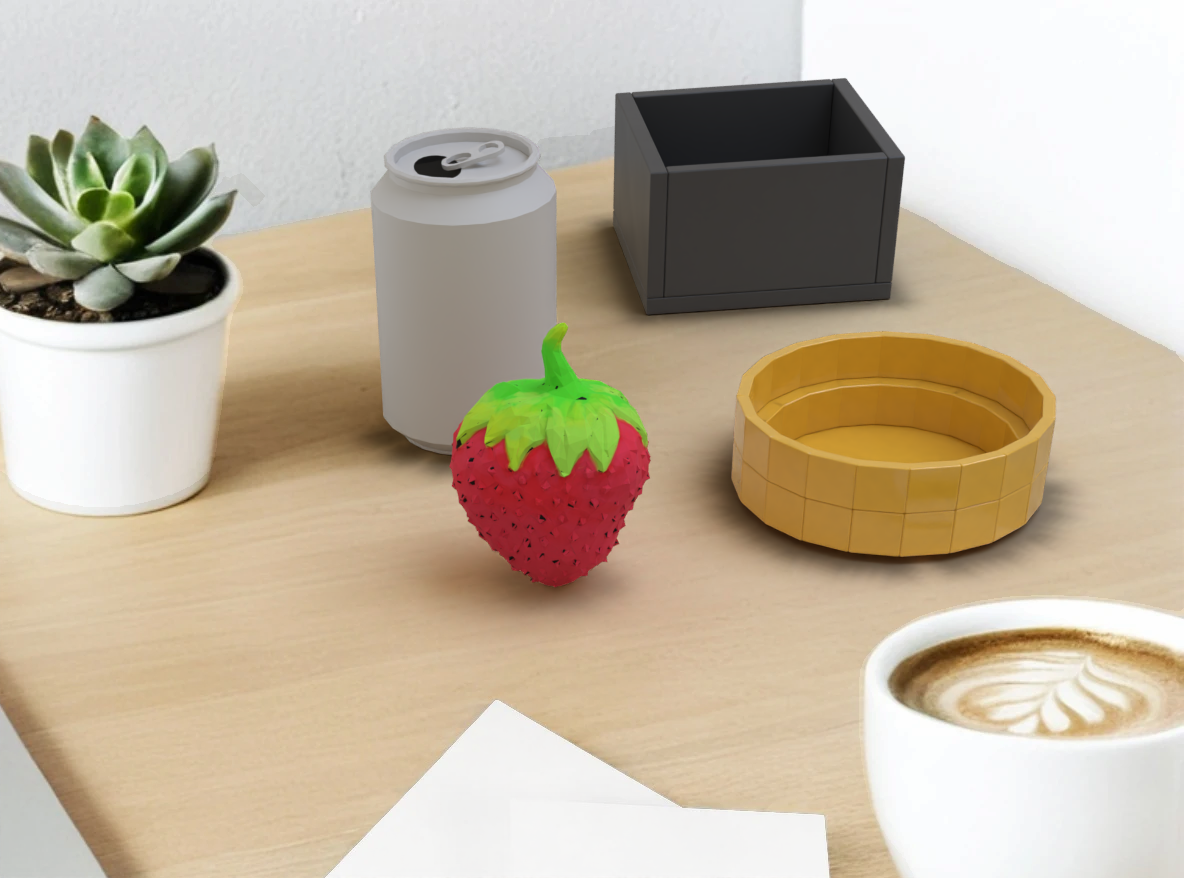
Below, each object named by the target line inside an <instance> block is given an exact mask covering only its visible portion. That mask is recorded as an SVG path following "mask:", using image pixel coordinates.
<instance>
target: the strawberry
mask: <svg viewBox="0 0 1184 878" xmlns="http://www.w3.org/2000/svg"><path fill="white" fill-rule="evenodd" d="M568 329H569V326H568V325H567V323H566V322H560V323H557V325H556V326H554V327H553V328H552V329H550V330H549V332H548V333H547V335H546V336H545V338H544V339H543V344H542V350H541V352H542V358H543V363H544V368H545V377H544V378H541V379H519V380H511V381H508V382H501V383H498V384H496V385H494V386H493V387H492V388H491V389H489V390H488V391H487V392H485V393H484V395H483V396H482V397H481V398H480V399H479V401H478V402H477V403H476V404H475V405H474V406H473V407H472V409H471V410H470V411H469V412H468V413H467V414H466V415H465V417H464V419H463V420H462V422H461V423H460V424H459V426H458V428H457V430H456V431H455V432H454V433H453V443H452V446H453V448H452V455H451V457H450V463H449V467H448V468H449V469H450V470H451V476H452V482H451V487H452V488H453V489H454V490H456V494H457V497H458V504H459V505H460V506H461V507H462V509H463V510H464V511H465V513H466V518H468V519H467V522H468V523H469V524H471V525H472V526H474V527H475V530H476V532H477V533H478V537H479V538H481V539H482V540H483V541H485V542H486V543H487V544H488V545H489V548H491V551H493V552H497V553H499V556H500V557H503V559H505V561H506V562H507V563H508V564H509V566H510V567H511V571H514V572H521V573H522V574H523V576H528V577H530V581H531V583H540V584H542V585H544V586H548V587H554V589H555V588H557V587H563V586H565V585H569V584H571V583H574V582H575V581H577V580H578V579H579V578H581V577H588V575H589V572H590V571H591V570H592V569H594V568H596V567H597V566H599V565H600V564H602V563H608V556H609V555H610V554H611V553H612V550H613V548H614V547H615V546H618V545H620V543H619V540H618V536H619V533H620V531H621V530H622V529H624V528H625V527H626V526H627V525H626V520H625V519H626V517H627V515H628V512H630V511H633V510H634V505H635V503H636V500H637V499H638V497H639V496H641V495H643V487H644V485H645V483H646V482H647V481H648V480H650V479H651V475H650V472H649V471H650V469H649V467H650V463H651V462H652V460H651V458H652V456H651V454H650V452H649V449H648V447H649V444H650V440H648V439H649V438H648V437H649V436H648V432H647V430H646V427H645V426H644V423H643V421H642V419H641V417H640V415H639V413H638V411H637V409H636V408H635V407H634V406H633V405H631V403H630V402H629V399H628V398H627V397H626V396H625V394H623V392H622V391H621V390H619V389H617V388H615V387H613V386H611V385H609V384H606V382H603V381H601V380H596V379H591V378H579V377H578V376H577V374H576V373H575V371H574V369H573V368H572V366H571V365H570V363H569V362H568V360H567V359H566V356H565V354H564V353H563V351H562V341H563V340H564V338H565V336H566V334H567V333H568Z"/></svg>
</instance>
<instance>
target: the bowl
mask: <svg viewBox="0 0 1184 878" xmlns="http://www.w3.org/2000/svg"><path fill="white" fill-rule="evenodd" d="M1056 419H1057V396H1056V394H1055V393H1054V392H1053V390H1052V389H1051V387H1050V386H1049V385H1048V383H1047V382H1046V380H1045V379H1044V378H1043V376H1042V375H1040V374H1039V373H1038V372H1037V371H1035V370H1034V369H1032V368H1031V367H1028V366H1027V365H1025V364H1024V363H1022V362H1021V361H1020V360H1018V359H1016V358H1014V357H1012V356H1011V355H1008V354H1006V353H1003V352H1000V351H998V350H995V349H991V348H989V347H987V346H985V345H984V346H983V345H980V344H978V343H975V342H971V341H967V340H961V339H957V338H951V337H945V336H940V335H937V334H936V335H935V334H928V333H921V332H920V333H919V332H905V331H886V330H878V331H876V330H875V331H861V332H850V333H848V332H847V333H846V332H845V333H836V334H829V335H825V336H820V337H815V338H811V339H806V340H802V341H797V342H795V343H792V344H789V345H787V346H785V347H781V348H780V349H778V350H775V351H773V352H771V353H769V354H767V355H764V356H763V357H761V358H760V359H759V360H757V361H756V362H755V363H754V364H753V365H752V366H751V367H750V368H748V369H747V370H746V372H744V373H743V374H742V375H741V379H740V382H739V386H738V389H737V391H736V395H735V410H734V427H733V444H732V459H731V460H732V461H731V475H730V476H731V477H730V478H731V481H732V484H733V486H734V490H735V491H736V494H737V497H738V499H739V501H740V503H741V504H742V505H743V506H744V507H746V508H747V509H748V510H749V511H750V512H751V513H752V514H754V515H755V516H756V517H757V518H758V519H759V520H760V521H762V522H763V523H764V524H765V525H767V526H769V527H771V528H773V529H774V530H775V529H776V530H778V531H779V532H781V533H784V534H786V535H788V536H790V537H792V538H794V539H796V540H798V541H803V542H806V543H809V544H814V545H818V546H822V547H826V548H830V549H834V550H837V551H841V552H845V553H847V552H849V553H852V554H853V553H854V554H865V555H875V556H876V555H877V556H886V557H887V556H888V557H902V558H903V557H905V558H906V557H916V556H917V557H918V556H919V557H920V556H933V555H949V554H954V553H957V552H961V551H965V550H970V549H973V548H978V547H980V546H985V545H989V544H992V543H993V542H996V541H998V540H1000V539H1002V538H1003V537H1005V536H1007V535H1009V534H1011V533H1013V532H1015V531H1016V530H1018V529H1020V528H1022V527H1024V526H1025V525H1026V524H1027V523H1028V521H1029V520H1030V519H1031V517H1032V516H1033V515H1034V514H1035V513H1036V511H1037V510H1038V509H1039V508H1040V506H1041V505H1042V502H1043V497H1044V492H1045V486H1046V481H1047V473H1048V468H1049V460H1050V454H1051V449H1052V444H1053V438H1054V431H1055V426H1056Z"/></svg>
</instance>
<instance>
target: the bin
mask: <svg viewBox="0 0 1184 878" xmlns="http://www.w3.org/2000/svg"><path fill="white" fill-rule="evenodd" d="M614 97H615V99H614V144H613V145H614V146H613V151H614V152H613V194H612V195H613V198H612V201H613V202H612V205H613V206H612V209H613V211H612V227H613V228H614V232H615V234H616V236H617V239H618V242H619V245H620V246H621V250H622V253H623V256H624V258H625V260H626V264H627V267H628V269H629V272H630V274H631V277H632V279H633V282H634V285H635V288H636V291H637V293H638V295H639V298H640V301H641V303H642V306H643V308H644V311H645V314H646V316H647V315H648V316H649V315H662V314H677V313H692V312H705V311H707V312H708V311H721V310H722V311H723V310H737V309H751V308H753V309H755V308H766V307H767V308H768V307H781V306H782V307H783V306H797V305H811V304H812V305H813V304H825V303H826V304H827V303H841V302H855V301H856V302H857V301H871V300H884V299H891V297H892V286H893V275H894V266H895V257H896V247H897V237H898V236H897V235H898V227H899V218H900V210H901V201H902V191H903V182H904V171H905V164H906V163H905V161H906V156H905V154H903V152H902V151H901V149H900V147H899V146H898V145H897V144H896V143H895V141H894V140H893V139H892V137H891V136H890V135H889V133H888V131H887V130H886V129H885V128H884V126H883V125H882V123H881V122H880V121H879V120H878V119H877V117H876V116H875V115H874V113H873V112H872V110H871V109H870V108H869V106H868V105H867V104H866V103H865V101H864V100H863V99H862V97H861V96H860V95H859V93H858V92H857V90H856V89H855V88H854V86H853V85H852V84H851V83H850V81H849V80H848V78H846V77H841V78H838V77H837V78H832V79H830V78H825V79H822V78H821V79H809V80H795V81H794V80H793V81H792V80H791V81H779V82H777V81H776V82H764V83H763V82H762V83H747V84H733V85H719V86H704V87H703V86H702V87H687V88H673V89H672V88H671V89H658V90H657V89H655V90H642V91H632V92H627V91H626V92H616V93H615V95H614Z"/></svg>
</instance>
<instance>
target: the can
mask: <svg viewBox="0 0 1184 878" xmlns="http://www.w3.org/2000/svg"><path fill="white" fill-rule="evenodd" d="M541 154H542V153H541V151H540V146H539V145H538V144H536V143H535V142H534V141H533V140H531V139H530V138H529V137H527V136H525V135H523V134H519V133H517V132H514V131H510V130H504V129H498V128H493V127H477V126H476V127H475V126H474V127H471V126H468V127H466V126H465V127H450V128H449V127H447V128H442V129H436V130H429V131H425V132H421V133H418V134H414V135H412V136H408V137H405V138H403V139H402V140H400V141H398V142H396V143H395V144H392V145H391V146H390V148H389V149H388V150H387V151H386V152H385V153H384V155H383V163H384V164H383V165H384V168H385V169H386V171H385V172H384V173H383V175H382V176H381V177H380V179H379V180H377V182H376V183H375V185H374V186H373V187H372V188H371V190H370V209H371V222H372V223H371V226H372V227H371V228H372V243H373V244H372V245H373V261H374V277H375V293H376V294H375V296H376V297H375V298H376V311H377V312H376V313H377V315H376V316H377V329H378V332H377V333H378V347H379V349H378V350H379V364H380V382H381V383H380V384H381V398H382V399H381V400H382V415H383V418H384V419H385V421H386V422H387V423H388V424H389V426H390V427H391V428H392V429H393V430H395V431H397V432H398V433H400V434H401V435H402V436H404V437H405V438H406V439H407V441H408V442H410V443H411V444H413V445H414V446H417V447H419V448H421V449H422V450H426V451H428V452H433V453H436V454H440V455H447V456H448V455H449V456H452V448H453V446H452V443H453V433H454V432H455V431H456V430H457V428H458V426H459V424H460V423H461V422H462V420H463V419H464V417H465V415H466V414H467V413H468V412H469V411H470V410H471V409H472V407H473V406H474V405H475V404H476V403H477V402H478V401H479V399H480V398H481V397H482V396H483V395H484V393H485V392H487V391H488V390H489V389H491V388H492V387H493V386H494V385H496V384H498V383H501V382H508V381H511V380H519V379H541V378H544V377H545V368H544V363H543V358H542V352H541V350H542V344H543V339H544V338H545V336H546V335H547V333H548V332H549V330H550V329H552V328H553V327H554V326H556V325H557V324H558V322H557V316H558V315H557V314H558V312H557V310H558V309H557V308H558V307H557V306H558V305H557V302H558V301H557V299H558V297H557V294H558V293H557V290H558V289H557V288H558V287H557V285H558V284H557V283H558V282H557V279H558V277H557V270H558V269H557V268H558V267H557V266H558V265H557V264H558V262H557V261H558V259H557V255H558V254H557V253H558V252H557V249H558V248H557V247H558V245H557V239H558V238H557V233H558V232H557V225H558V223H557V222H558V221H557V215H558V213H557V201H558V200H557V199H558V197H557V187H556V183H555V180H554V179H553V178H552V176H551V175H550V174H549V173H548V172H547V171H546V170H545V168H543V167H542V166H541V165H540V163H538V162H539V161H540V159H541V157H542V155H541Z"/></svg>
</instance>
